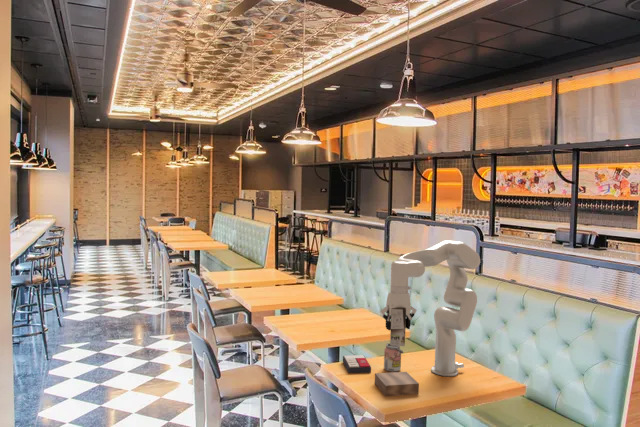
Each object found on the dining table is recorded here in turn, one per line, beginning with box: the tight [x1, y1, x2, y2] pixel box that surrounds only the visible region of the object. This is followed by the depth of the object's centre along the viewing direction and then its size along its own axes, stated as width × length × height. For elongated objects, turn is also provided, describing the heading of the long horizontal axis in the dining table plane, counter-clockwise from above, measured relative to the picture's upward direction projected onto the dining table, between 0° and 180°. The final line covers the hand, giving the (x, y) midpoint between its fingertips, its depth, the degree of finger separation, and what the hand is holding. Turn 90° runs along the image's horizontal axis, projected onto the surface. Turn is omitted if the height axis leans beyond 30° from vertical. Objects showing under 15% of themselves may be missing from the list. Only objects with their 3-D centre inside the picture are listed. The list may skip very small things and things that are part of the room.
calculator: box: [342, 354, 372, 374], centre depth 237 cm, size 11×4×15 cm
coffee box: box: [389, 308, 407, 347], centre depth 211 cm, size 9×6×16 cm
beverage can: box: [383, 342, 404, 373], centre depth 235 cm, size 9×8×12 cm
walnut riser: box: [374, 371, 420, 397], centre depth 212 cm, size 15×14×5 cm
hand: (397, 328), depth 211 cm, fingers closed on coffee box, 8 cm apart
